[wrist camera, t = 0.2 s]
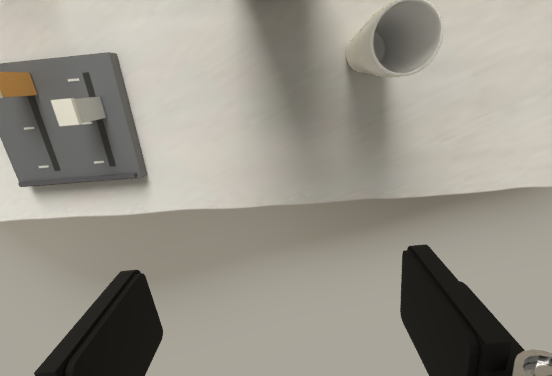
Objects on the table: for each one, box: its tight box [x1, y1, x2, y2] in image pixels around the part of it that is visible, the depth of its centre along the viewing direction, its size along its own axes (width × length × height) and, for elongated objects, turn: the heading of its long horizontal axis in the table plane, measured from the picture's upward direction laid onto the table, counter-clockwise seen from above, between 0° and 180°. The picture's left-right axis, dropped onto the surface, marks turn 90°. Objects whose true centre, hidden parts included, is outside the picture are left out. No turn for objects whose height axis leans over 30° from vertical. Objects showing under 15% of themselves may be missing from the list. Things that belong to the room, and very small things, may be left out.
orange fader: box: [0, 72, 37, 98], centre depth 38 cm, size 3×3×6 cm
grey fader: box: [51, 97, 106, 126], centre depth 39 cm, size 3×3×6 cm
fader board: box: [0, 52, 147, 187], centre depth 44 cm, size 18×20×3 cm
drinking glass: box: [346, 0, 443, 78], centre depth 34 cm, size 7×7×15 cm
